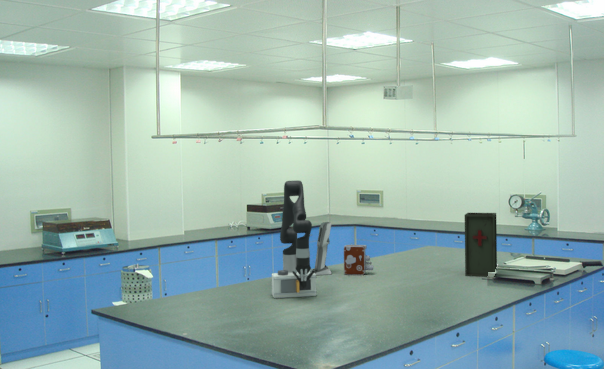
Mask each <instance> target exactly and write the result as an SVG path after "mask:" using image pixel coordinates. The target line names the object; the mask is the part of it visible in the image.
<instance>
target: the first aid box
mask: <svg viewBox="0 0 605 369" xmlns="http://www.w3.org/2000/svg"><path fill="white" fill-rule="evenodd" d="M497 240H498V239H497V212H467V213H465V214H464V265H465V267H464V268H465V269H464V271H465V273H464V274H465V277H477V278H478V277H479V278H480V277H481V278H488V277H487V276H488V272H495V269H496V267H497V268H498V254H497V252H498V251H497V250H498V249H497V247H498V245H497V243H498V241H497Z"/></svg>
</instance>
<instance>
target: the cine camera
mask: <svg viewBox="0 0 605 369" xmlns="http://www.w3.org/2000/svg"><path fill="white" fill-rule="evenodd" d="M367 246H368V245H367V244H345V245H343V273H344V275H347V276H364V275H365V274H366V271H374V265H372V261H371V256H370V255H369V254H368V255H366V250H367Z"/></svg>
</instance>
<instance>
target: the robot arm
mask: <svg viewBox="0 0 605 369" xmlns="http://www.w3.org/2000/svg"><path fill="white" fill-rule="evenodd" d="M304 192H305V190H304V184H303V182H302V180H287V181H285V182H284V185H283V206H282V213H281V214H282V215H281V216H282V218H281V229H280V234H279V235H280V236H279V241H280V243H281V244H285V245H286V244H287V245H288V244H291V245H290V246H288V247H287V248H284V249H282V270H288V273H293V274H294V275H295V277H296V278H297V279H298V280H300V281H301V287H302V288H305V287H306V281H307V280H309V279H310V278H311V276H312V275H313V274H314V272H315V271H314V270H313V268H312V267H311V253H310V252H311V250H310V236H311V232H312V227H313V225H312V222H311V221H310V220H309V219H307V212H306V207H305V194H304ZM291 197H297V199H296V201H295V202H293V200H292V199H291ZM306 219H307V220H306ZM291 226H292V228H290V227H291ZM298 234H304V235H303V236H299V237H298ZM297 272H298V273H299V274H300V278H299V277H298V275H297ZM308 272H310V274H309V275H308V276H307V274H308ZM303 275H304V281H303Z"/></svg>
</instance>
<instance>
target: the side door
mask: <svg viewBox="0 0 605 369" xmlns="http://www.w3.org/2000/svg"><path fill="white" fill-rule="evenodd" d="M288 292H297V293H299V280H298V279H291V280H281V293H288Z"/></svg>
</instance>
